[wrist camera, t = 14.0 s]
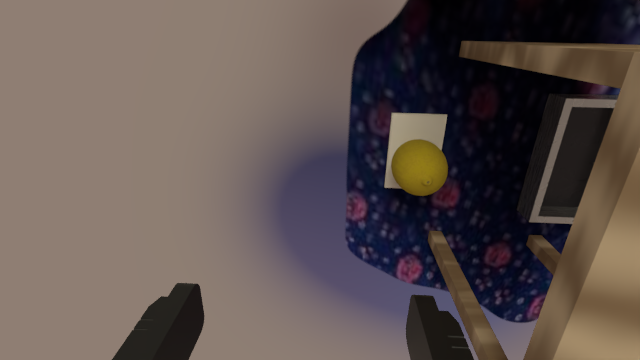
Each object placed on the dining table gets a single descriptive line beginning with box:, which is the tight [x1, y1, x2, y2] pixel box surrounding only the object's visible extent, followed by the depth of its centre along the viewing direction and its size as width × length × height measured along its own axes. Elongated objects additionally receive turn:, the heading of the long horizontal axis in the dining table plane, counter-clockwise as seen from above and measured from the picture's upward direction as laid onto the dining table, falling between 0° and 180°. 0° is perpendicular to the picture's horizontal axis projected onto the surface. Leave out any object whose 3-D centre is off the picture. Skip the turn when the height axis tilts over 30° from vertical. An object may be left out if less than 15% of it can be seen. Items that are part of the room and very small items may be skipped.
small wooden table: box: [428, 41, 640, 360], centre depth 28 cm, size 24×14×24 cm, turn 179°
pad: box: [384, 113, 447, 188], centre depth 39 cm, size 9×6×1 cm, turn 179°
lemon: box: [391, 139, 448, 196], centre depth 35 cm, size 6×6×8 cm
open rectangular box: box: [516, 94, 619, 224], centre depth 37 cm, size 14×9×3 cm, turn 179°
